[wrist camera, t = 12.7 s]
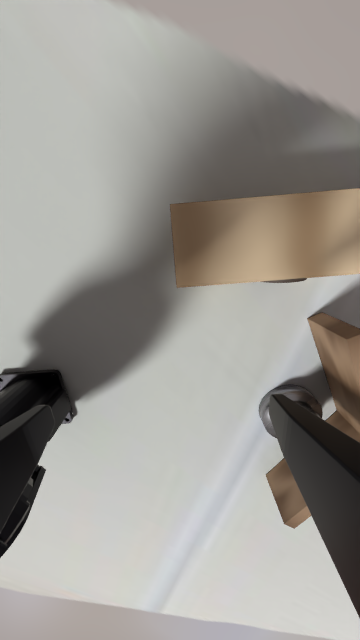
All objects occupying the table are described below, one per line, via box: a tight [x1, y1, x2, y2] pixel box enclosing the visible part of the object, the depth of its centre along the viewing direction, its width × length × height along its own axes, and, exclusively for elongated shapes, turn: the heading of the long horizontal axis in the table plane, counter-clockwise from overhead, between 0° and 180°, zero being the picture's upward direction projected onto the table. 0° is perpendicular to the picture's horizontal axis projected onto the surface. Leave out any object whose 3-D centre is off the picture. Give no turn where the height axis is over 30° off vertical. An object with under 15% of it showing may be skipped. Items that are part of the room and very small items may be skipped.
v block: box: [266, 312, 360, 528], centre depth 21 cm, size 8×22×5 cm, turn 176°
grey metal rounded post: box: [259, 385, 322, 438], centre depth 17 cm, size 6×6×14 cm
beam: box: [170, 188, 360, 288], centre depth 16 cm, size 16×5×5 cm, turn 94°
